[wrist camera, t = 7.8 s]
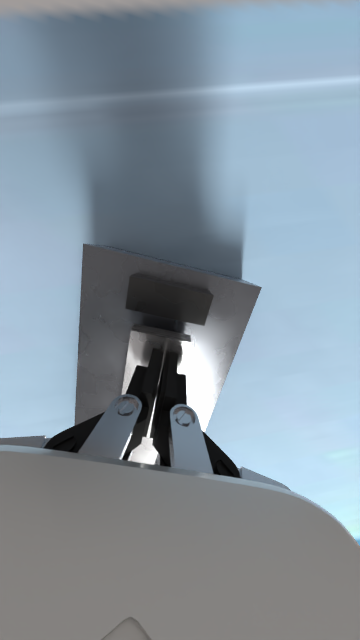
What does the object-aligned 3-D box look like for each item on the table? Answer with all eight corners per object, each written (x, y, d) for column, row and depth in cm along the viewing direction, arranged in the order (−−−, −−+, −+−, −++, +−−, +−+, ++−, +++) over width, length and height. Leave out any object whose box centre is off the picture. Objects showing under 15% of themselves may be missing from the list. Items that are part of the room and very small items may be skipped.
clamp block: (180, 455, 24) (180, 514, 19) (89, 442, 23) (61, 501, 18) (241, 279, 16) (274, 292, 11) (106, 246, 15) (66, 241, 10)
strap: (147, 478, 19) (146, 490, 18) (112, 473, 19) (108, 485, 18) (190, 335, 12) (191, 342, 11) (134, 323, 12) (130, 330, 11)
